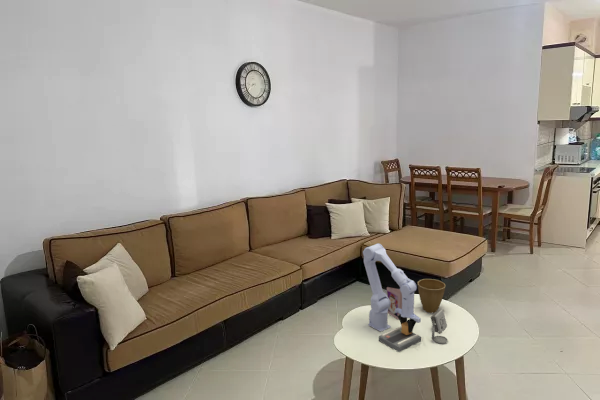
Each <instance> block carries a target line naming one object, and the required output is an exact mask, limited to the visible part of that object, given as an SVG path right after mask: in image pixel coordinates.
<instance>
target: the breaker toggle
mask: <svg viewBox="0 0 600 400" xmlns="http://www.w3.org/2000/svg"><path fill="white" fill-rule="evenodd" d="M412 332H413V331H412ZM412 332H411V333H412ZM401 333H403V334H405V335H409V334H411V333H409V332H408V323H407V322H404V323H402V330H401Z"/></svg>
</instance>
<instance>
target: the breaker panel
mask: <svg viewBox="0 0 600 400" xmlns="http://www.w3.org/2000/svg"><path fill="white" fill-rule="evenodd" d="M401 330H402V326H401V325H400V326H398V327H397V328H394V329H392V330H389V331H388V332H385V333H383V334H381V335H379V336H378V342H380V343H382V344H384V345H386V346H387V347H389V348H391V349H393V350H395V351H396V352H398V353H400V352H402V351H404V350H406V349H409V348H410V347H413V346H414V345H417V344H418V343H421V342H422V336H421V335H419V334H417V333H414V331H412V333H411V334H409V335H405V334H403V333H401Z"/></svg>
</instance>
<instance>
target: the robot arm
mask: <svg viewBox="0 0 600 400" xmlns="http://www.w3.org/2000/svg"><path fill="white" fill-rule="evenodd" d="M386 250H387V249H386V248H385V247H384V246H383V245H382V244H381V243H375V244H373V245H370V246H366V247H365V248H364V250H363V251H362V255H363V264H364V267H365V271H366V275H367V278H368V282H369V286H370V289H371V293H372V295H371V297H370V310H369V312H368V313H369V314H368V317H369V318H368V323H367V325H368V326H369V327H371V328H373V329H375V330H377V331H379V332H383V331H387V330H388V329H390V328H392V326H391V325H390V324H389V323H388V317H389V316H388V314H389V313H388V308H389V307H390V305H391V302H390V300H389V298H388V296H387V292H384V291H383V288H382V287H383V286H382V283H381V279H380V276H379V272H378V269H377V265H376V262H378V261H379V262H381V263H382V264H383V265H384V266H385V267H386V268H387V269H388V271H390V273H391V277H392V279H393V280H394V282H396V284H397V285H398V286H399V289H400V291H401V293H402V309H400V308H396V309H395V312H396V313H399V314H400V315H399V316H398V319H399V320H398V319H397V320H398V321H399V322H400V326H402V323H404V322H407V323H408V332H409V333H411V332H414V328H415V325H416V323H421V320H422V318H421V317H419V316H418V315H417V314H415V312H414V311H415V310H414V309H415V292H416V291H417V289H418V284H416V282H415V281H414V280H412V279H410V278H408V276H407V275H406V273H404V272H405V271H404V270H402V269H401V268H397V266H396V265H395V264H394V262H393V261H392V259H391V258H390V257H389V255H388V254H387V251H386Z"/></svg>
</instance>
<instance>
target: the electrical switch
mask: <svg viewBox="0 0 600 400" xmlns="http://www.w3.org/2000/svg"><path fill="white" fill-rule="evenodd" d="M444 312H445V311H444V309H440V310H437V311H436V312H435V313H432V315H430V321H431V324H432V325H433V321H434V324H435V325H434V326H435V332H438V334H442V333H443V331H444V330H445V329H446V328H447V327H448V324H447V323H448V322H447V320H446V315H445V313H444ZM432 325H431V326H432Z"/></svg>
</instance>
